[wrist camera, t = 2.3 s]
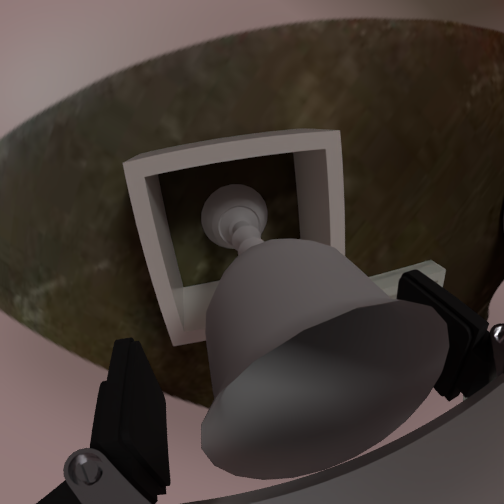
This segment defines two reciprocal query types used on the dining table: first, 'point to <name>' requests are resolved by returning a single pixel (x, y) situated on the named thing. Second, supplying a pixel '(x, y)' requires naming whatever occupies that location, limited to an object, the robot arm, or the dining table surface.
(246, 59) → the dining table surface
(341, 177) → the sleeve
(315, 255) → the chalice
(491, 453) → the robot arm
